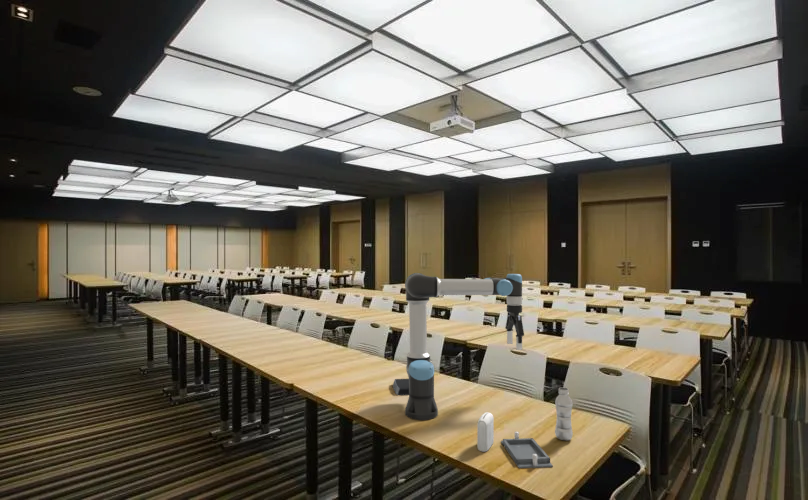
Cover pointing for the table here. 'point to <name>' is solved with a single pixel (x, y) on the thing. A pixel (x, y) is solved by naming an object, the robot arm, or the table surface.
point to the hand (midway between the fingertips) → (514, 346)
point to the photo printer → (485, 432)
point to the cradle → (526, 452)
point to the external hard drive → (401, 386)
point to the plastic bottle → (563, 415)
